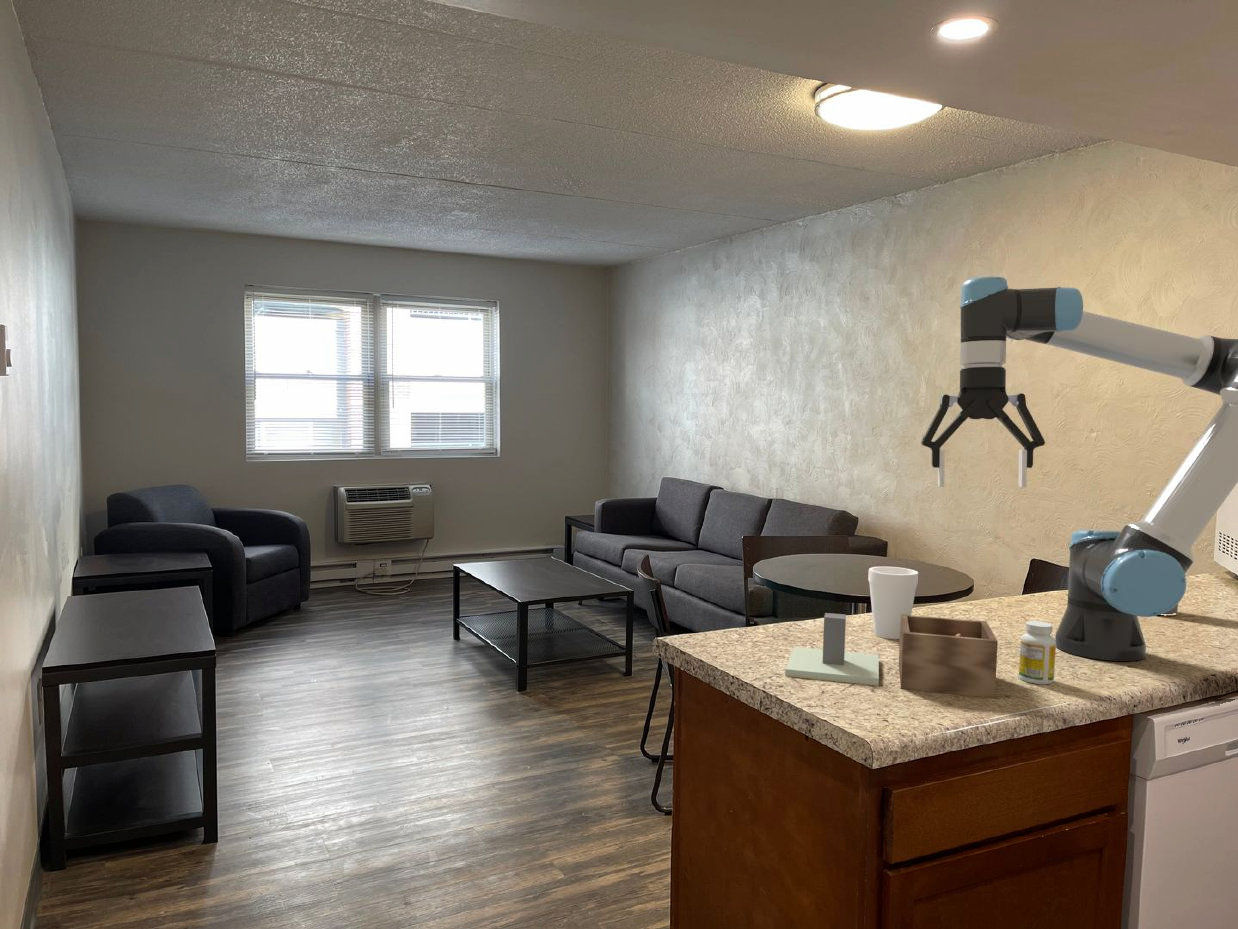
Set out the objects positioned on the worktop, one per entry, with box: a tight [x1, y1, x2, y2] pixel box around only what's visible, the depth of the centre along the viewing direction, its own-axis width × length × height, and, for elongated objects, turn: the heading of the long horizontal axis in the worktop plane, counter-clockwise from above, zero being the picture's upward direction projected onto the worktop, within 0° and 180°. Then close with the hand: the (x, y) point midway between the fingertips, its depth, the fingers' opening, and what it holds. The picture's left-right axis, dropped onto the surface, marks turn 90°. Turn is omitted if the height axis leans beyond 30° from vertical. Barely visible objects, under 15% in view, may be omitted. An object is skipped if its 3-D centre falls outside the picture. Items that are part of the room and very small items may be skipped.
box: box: [898, 614, 998, 699], centre depth 146 cm, size 14×14×9 cm
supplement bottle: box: [1018, 620, 1057, 685], centre depth 148 cm, size 5×5×10 cm
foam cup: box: [867, 566, 919, 640], centre depth 176 cm, size 10×9×13 cm
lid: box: [784, 612, 880, 686], centre depth 152 cm, size 15×15×10 cm
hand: (981, 486), depth 157 cm, fingers open, 13 cm apart
